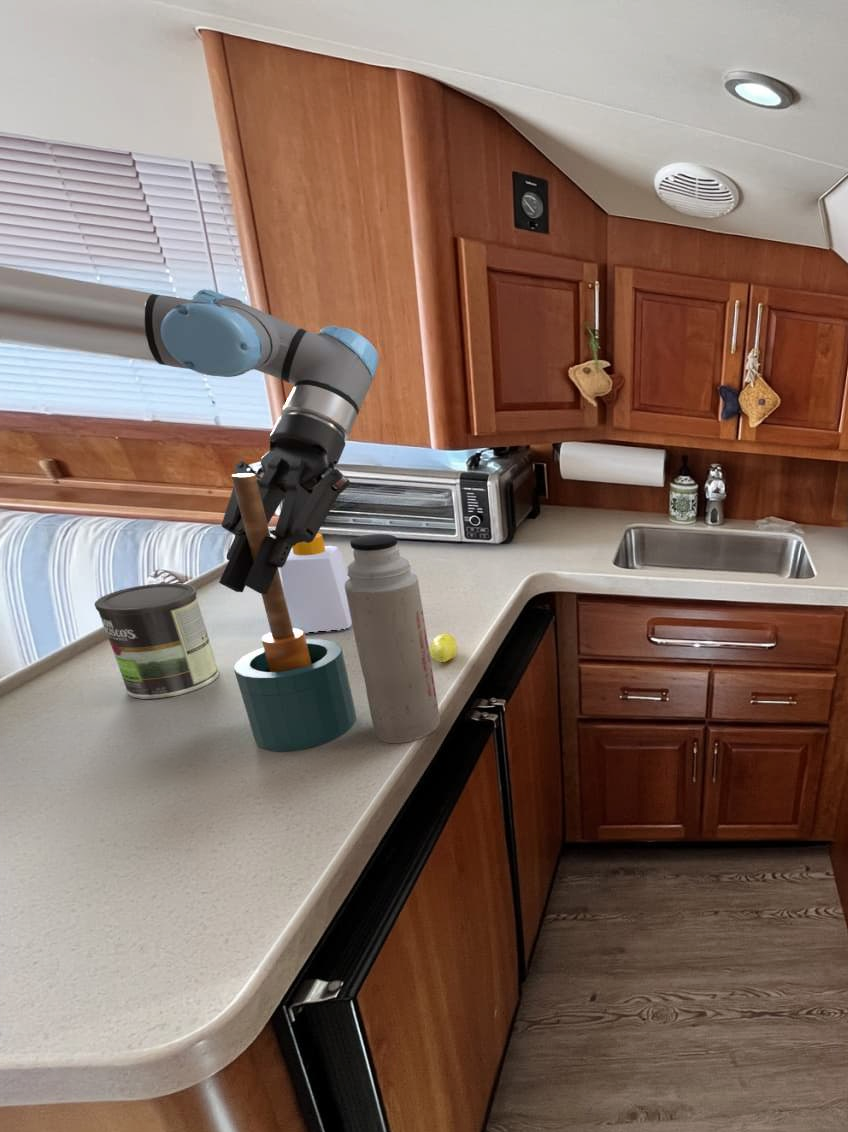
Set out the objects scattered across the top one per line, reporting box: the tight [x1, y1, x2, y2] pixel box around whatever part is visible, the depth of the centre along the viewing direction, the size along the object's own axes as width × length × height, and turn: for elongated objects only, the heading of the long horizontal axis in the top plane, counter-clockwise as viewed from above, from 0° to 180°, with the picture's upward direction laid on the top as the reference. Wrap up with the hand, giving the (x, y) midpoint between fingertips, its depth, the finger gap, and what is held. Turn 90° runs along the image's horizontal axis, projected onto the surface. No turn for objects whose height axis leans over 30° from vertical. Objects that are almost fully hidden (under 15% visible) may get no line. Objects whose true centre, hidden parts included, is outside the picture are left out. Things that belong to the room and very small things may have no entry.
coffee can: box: [94, 582, 220, 700], centre depth 93 cm, size 10×10×14 cm
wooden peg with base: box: [231, 473, 312, 672], centre depth 79 cm, size 4×4×26 cm
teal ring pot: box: [233, 638, 357, 752], centre depth 86 cm, size 11×11×11 cm
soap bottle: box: [279, 529, 352, 634], centre depth 111 cm, size 10×14×22 cm
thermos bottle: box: [345, 533, 441, 744], centre depth 84 cm, size 8×8×28 cm
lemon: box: [429, 633, 459, 663], centre depth 108 cm, size 4×8×4 cm, turn 22°
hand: (243, 588), depth 76 cm, fingers closed on wooden peg with base, 2 cm apart
